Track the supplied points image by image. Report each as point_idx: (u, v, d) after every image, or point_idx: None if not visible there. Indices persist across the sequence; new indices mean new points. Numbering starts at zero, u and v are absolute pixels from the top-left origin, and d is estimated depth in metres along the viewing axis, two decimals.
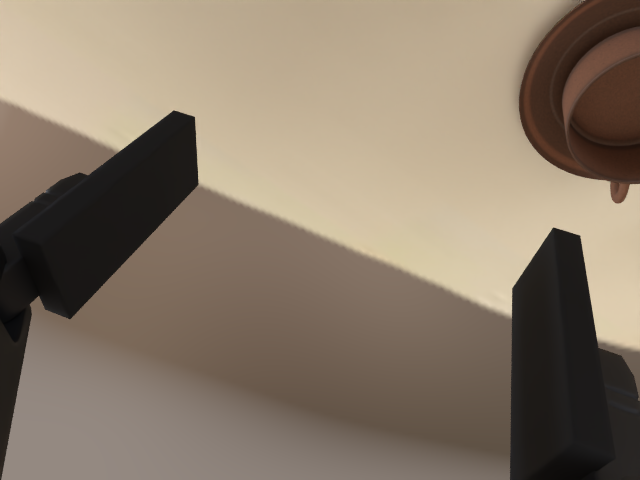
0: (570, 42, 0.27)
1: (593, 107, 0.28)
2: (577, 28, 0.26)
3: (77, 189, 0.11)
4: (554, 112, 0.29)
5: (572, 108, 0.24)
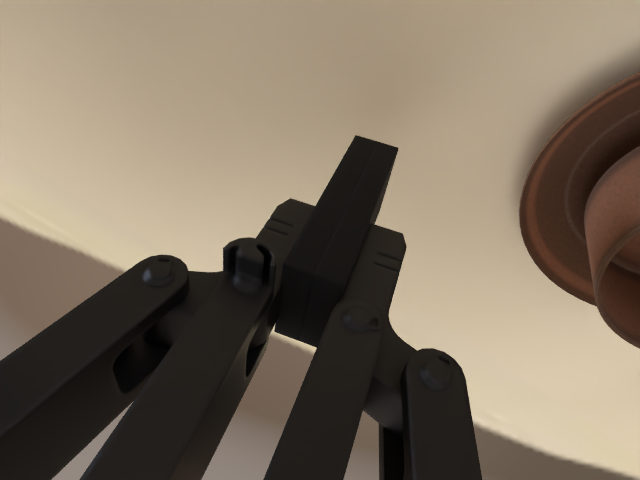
0: (597, 133, 0.17)
1: None
2: (608, 115, 0.17)
3: (315, 217, 0.12)
4: (571, 222, 0.20)
5: (606, 260, 0.15)
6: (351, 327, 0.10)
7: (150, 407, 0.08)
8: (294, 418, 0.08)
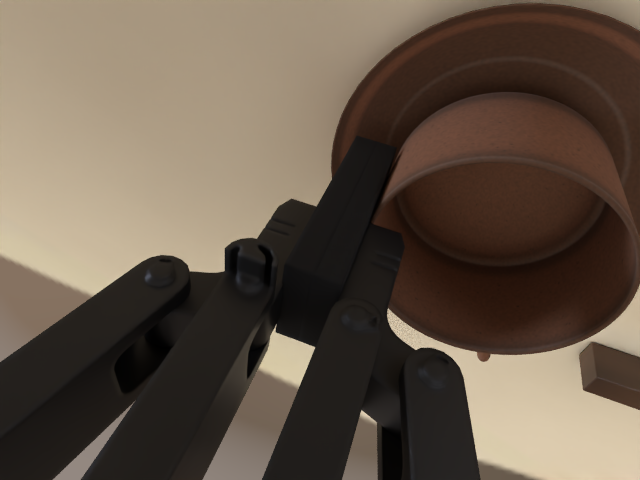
0: (398, 109, 0.16)
1: (451, 203, 0.18)
2: (401, 88, 0.16)
3: (316, 218, 0.12)
4: None
5: None
6: (350, 326, 0.10)
7: (151, 407, 0.08)
8: (293, 417, 0.08)
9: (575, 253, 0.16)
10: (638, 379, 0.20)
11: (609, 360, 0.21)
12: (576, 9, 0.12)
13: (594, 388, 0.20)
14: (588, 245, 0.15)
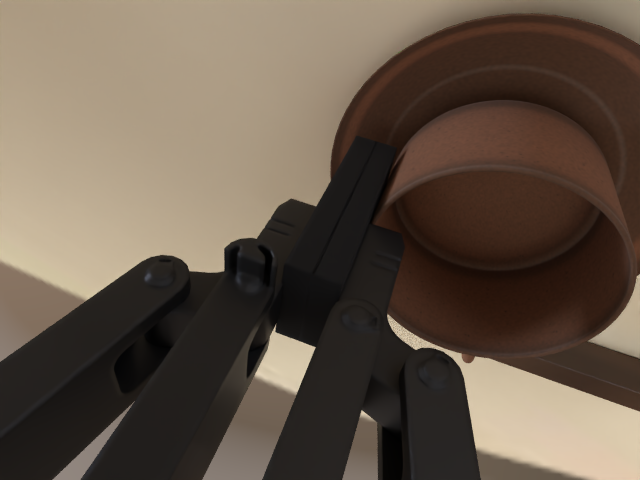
0: (402, 108, 0.16)
1: (446, 205, 0.18)
2: (408, 88, 0.16)
3: (316, 218, 0.12)
4: None
5: None
6: (350, 326, 0.10)
7: (151, 407, 0.08)
8: (293, 418, 0.08)
9: (564, 263, 0.16)
10: None
11: None
12: (591, 25, 0.12)
13: None
14: (578, 256, 0.16)
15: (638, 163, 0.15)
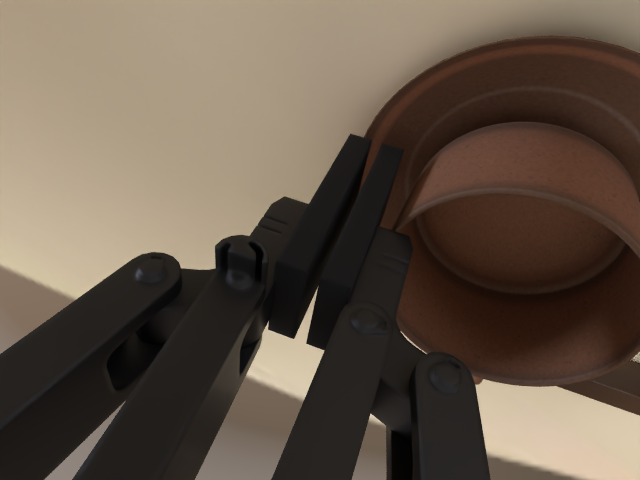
0: (431, 121, 0.16)
1: (466, 222, 0.18)
2: (439, 101, 0.16)
3: (308, 215, 0.12)
4: None
5: None
6: (359, 329, 0.10)
7: (144, 405, 0.08)
8: (301, 420, 0.08)
9: (584, 292, 0.16)
10: None
11: None
12: (634, 53, 0.12)
13: None
14: (598, 287, 0.15)
15: None
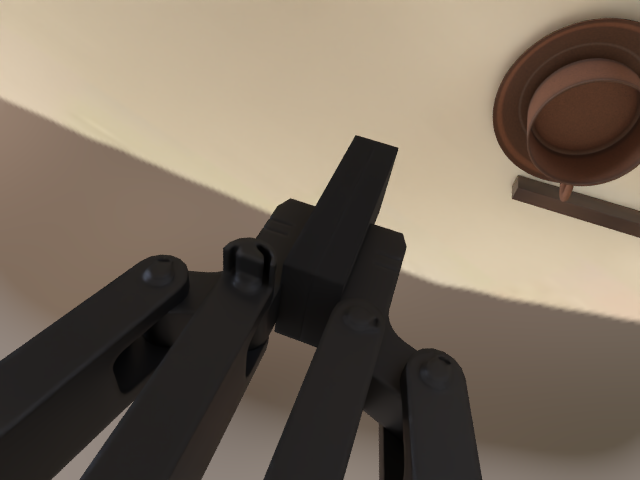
0: (539, 64, 0.32)
1: (552, 120, 0.34)
2: (545, 53, 0.32)
3: (315, 217, 0.12)
4: (521, 121, 0.35)
5: (533, 119, 0.29)
6: (351, 326, 0.10)
7: (150, 407, 0.08)
8: (294, 418, 0.08)
9: (619, 144, 0.32)
10: (540, 189, 0.37)
11: (526, 182, 0.38)
12: None
13: (517, 196, 0.38)
14: (627, 139, 0.31)
15: None
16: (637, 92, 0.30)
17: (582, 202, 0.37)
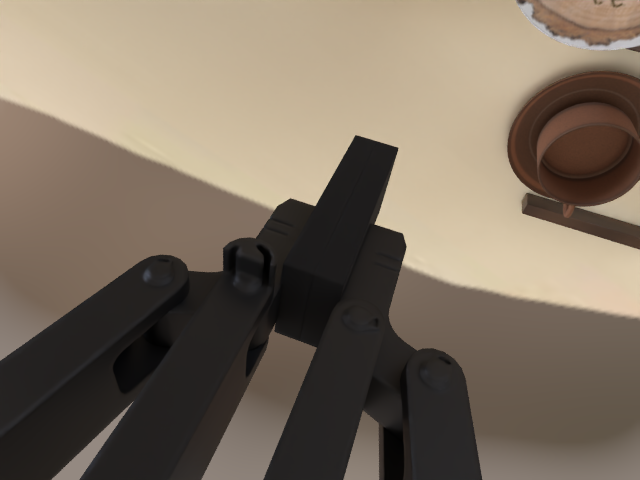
0: (546, 104, 0.39)
1: (557, 149, 0.41)
2: (552, 96, 0.38)
3: (315, 217, 0.12)
4: (530, 149, 0.42)
5: (543, 153, 0.36)
6: (351, 327, 0.10)
7: (150, 407, 0.08)
8: (294, 418, 0.08)
9: (613, 171, 0.39)
10: (546, 206, 0.44)
11: (534, 199, 0.44)
12: (632, 77, 0.34)
13: (526, 211, 0.44)
14: (619, 167, 0.38)
15: None
16: None
17: (582, 216, 0.43)
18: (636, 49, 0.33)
